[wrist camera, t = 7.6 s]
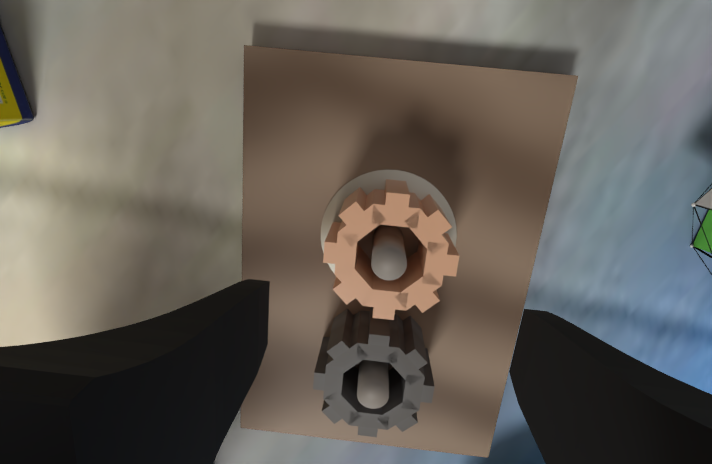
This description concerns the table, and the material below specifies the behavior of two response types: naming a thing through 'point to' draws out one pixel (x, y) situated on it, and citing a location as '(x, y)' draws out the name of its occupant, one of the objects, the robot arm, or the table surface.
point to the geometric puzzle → (704, 225)
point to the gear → (422, 266)
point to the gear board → (392, 239)
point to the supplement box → (11, 91)
